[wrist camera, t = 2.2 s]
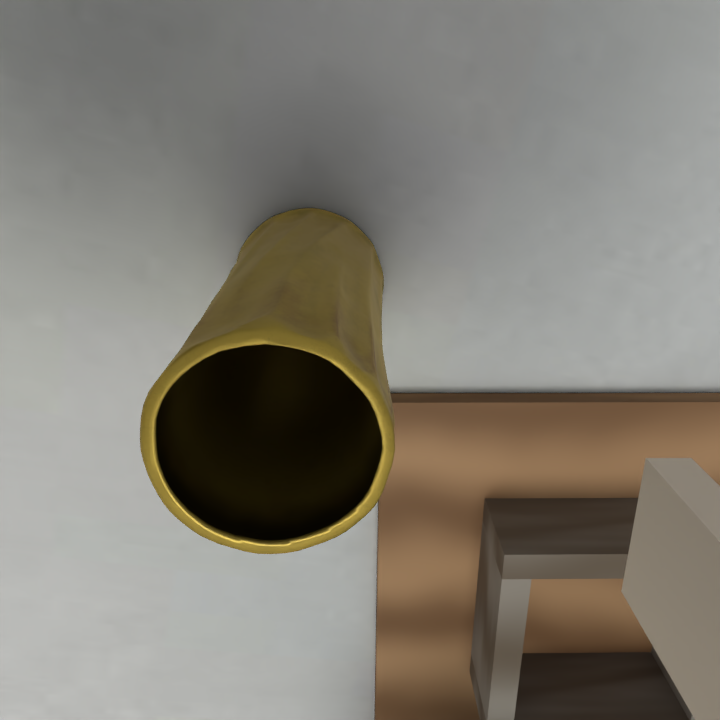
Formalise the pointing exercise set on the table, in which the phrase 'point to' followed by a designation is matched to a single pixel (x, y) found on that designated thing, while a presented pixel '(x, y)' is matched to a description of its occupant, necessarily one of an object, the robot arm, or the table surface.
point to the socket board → (523, 554)
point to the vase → (279, 394)
